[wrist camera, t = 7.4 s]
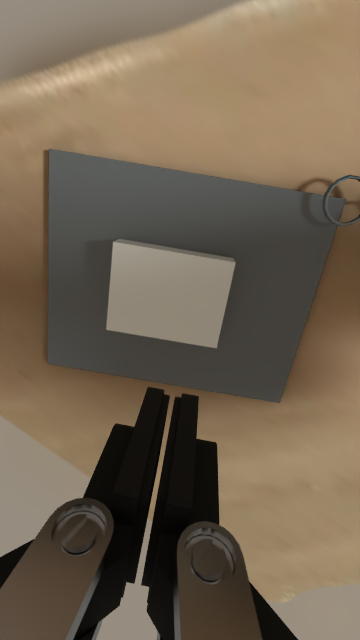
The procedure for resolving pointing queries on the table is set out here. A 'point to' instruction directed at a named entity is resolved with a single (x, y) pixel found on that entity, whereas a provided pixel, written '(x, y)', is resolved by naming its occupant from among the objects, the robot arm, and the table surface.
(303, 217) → the mat
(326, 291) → the table surface
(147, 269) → the tile
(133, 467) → the robot arm
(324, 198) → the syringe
